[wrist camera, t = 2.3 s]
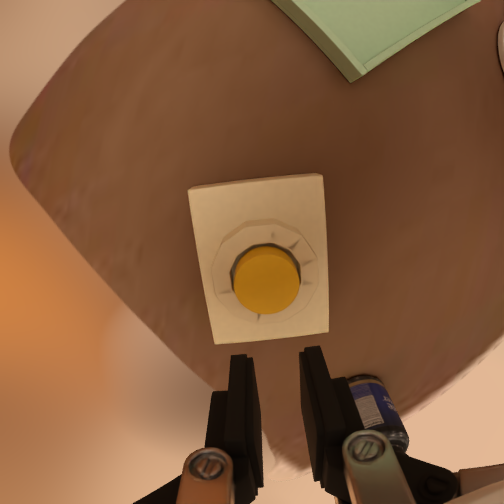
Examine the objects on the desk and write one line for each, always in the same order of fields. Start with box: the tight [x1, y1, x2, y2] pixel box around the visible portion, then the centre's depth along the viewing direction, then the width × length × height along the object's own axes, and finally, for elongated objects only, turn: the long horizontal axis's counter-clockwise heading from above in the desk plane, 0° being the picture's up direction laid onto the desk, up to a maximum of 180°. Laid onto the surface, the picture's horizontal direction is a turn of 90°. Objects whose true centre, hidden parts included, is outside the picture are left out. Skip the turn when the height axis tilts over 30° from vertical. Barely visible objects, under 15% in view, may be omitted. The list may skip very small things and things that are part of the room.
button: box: [234, 246, 299, 314], centre depth 20 cm, size 4×4×2 cm
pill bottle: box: [347, 376, 409, 456], centre depth 24 cm, size 6×6×11 cm
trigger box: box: [188, 173, 329, 344], centre depth 22 cm, size 12×9×4 cm
